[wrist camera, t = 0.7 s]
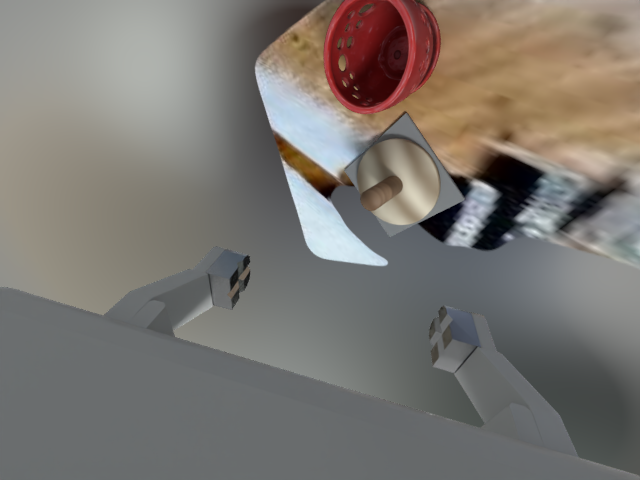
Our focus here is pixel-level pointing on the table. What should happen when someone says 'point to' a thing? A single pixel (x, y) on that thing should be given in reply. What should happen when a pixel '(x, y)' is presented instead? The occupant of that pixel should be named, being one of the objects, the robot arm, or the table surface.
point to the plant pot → (380, 52)
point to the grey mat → (410, 132)
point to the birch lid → (398, 181)
